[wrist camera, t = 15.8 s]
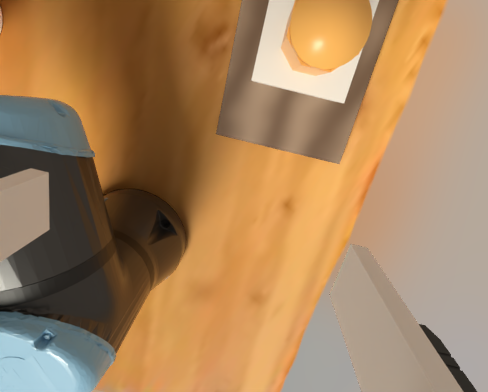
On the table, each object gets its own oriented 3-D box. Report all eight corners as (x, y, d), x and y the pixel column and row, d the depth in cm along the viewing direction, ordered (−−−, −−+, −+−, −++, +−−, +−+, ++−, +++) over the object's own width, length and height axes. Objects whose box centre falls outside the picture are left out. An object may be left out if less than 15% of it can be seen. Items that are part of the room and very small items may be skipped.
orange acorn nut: (276, 66, 29) (281, 58, 22) (292, 0, 27) (303, -33, 20) (331, 80, 29) (355, 76, 22) (351, 15, 27) (385, -12, 20)
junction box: (252, 81, 34) (249, 78, 25) (275, -19, 30) (280, -61, 22) (335, 101, 34) (359, 106, 25) (366, 4, 30) (407, -28, 22)
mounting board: (217, 132, 37) (216, 134, 36) (263, -103, 29) (263, -113, 28) (336, 161, 38) (339, 164, 36) (415, -63, 29) (423, -70, 28)
